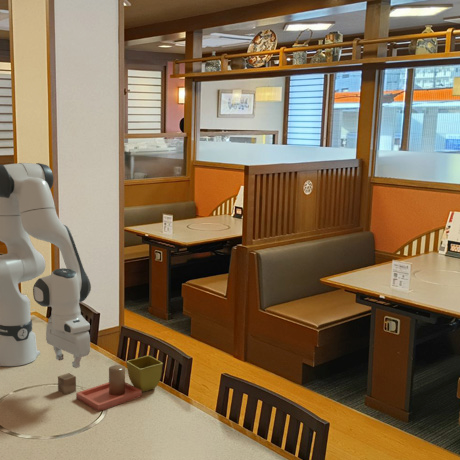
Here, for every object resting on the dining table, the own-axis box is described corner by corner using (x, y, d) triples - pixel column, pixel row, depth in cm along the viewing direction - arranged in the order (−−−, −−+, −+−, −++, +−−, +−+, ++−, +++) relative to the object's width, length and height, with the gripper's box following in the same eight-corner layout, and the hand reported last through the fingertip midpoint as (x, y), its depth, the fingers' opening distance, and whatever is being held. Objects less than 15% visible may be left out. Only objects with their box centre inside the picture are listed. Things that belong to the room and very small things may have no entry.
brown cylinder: (105, 392, 193) (105, 368, 192) (118, 387, 197) (118, 364, 196) (115, 397, 190) (115, 372, 189) (128, 392, 194) (128, 368, 192)
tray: (76, 398, 190) (76, 392, 190) (118, 384, 201) (118, 378, 201) (98, 411, 182) (98, 405, 181) (141, 396, 193) (141, 390, 193)
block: (58, 391, 195) (57, 376, 194) (69, 387, 198) (68, 372, 197) (64, 395, 193) (64, 379, 192) (75, 391, 195) (75, 376, 195)
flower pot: (139, 396, 193) (139, 369, 192) (125, 387, 200) (125, 360, 198) (163, 389, 199) (163, 363, 197) (148, 380, 205) (149, 355, 204)
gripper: (40, 316, 196) (41, 357, 198) (75, 330, 182) (76, 374, 184) (57, 312, 201) (59, 353, 203) (93, 325, 187) (94, 368, 189)
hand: (67, 363), depth 193 cm, fingers open, 8 cm apart
